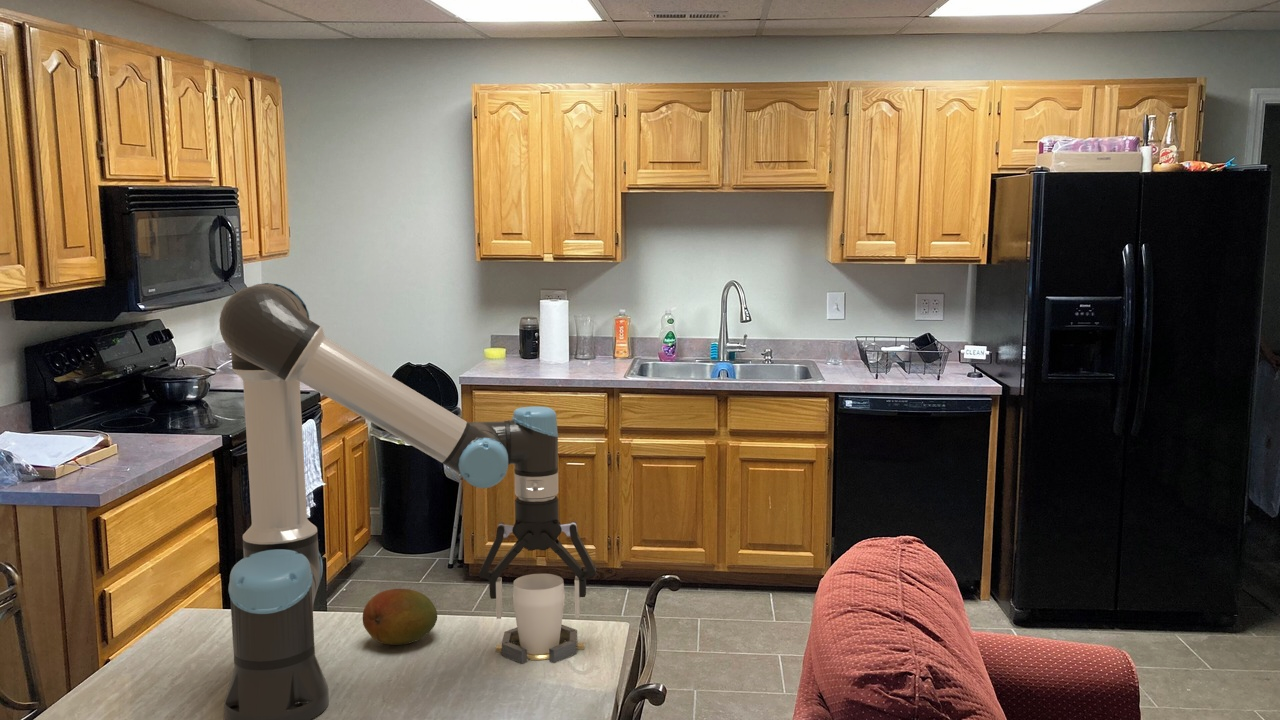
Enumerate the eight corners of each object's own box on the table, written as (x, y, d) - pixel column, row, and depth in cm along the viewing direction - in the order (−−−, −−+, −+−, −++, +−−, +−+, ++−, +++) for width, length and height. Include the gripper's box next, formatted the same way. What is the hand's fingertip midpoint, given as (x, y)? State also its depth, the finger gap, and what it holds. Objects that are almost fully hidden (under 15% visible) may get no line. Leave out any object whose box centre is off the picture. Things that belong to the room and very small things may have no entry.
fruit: (353, 647, 179) (350, 593, 178) (402, 624, 190) (400, 572, 189) (402, 660, 173) (400, 603, 172) (450, 635, 184) (448, 582, 183)
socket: (492, 664, 171) (492, 652, 171) (499, 635, 184) (499, 624, 183) (583, 662, 171) (583, 649, 171) (584, 633, 184) (584, 622, 184)
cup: (506, 656, 174) (505, 588, 173) (523, 636, 183) (521, 571, 181) (557, 659, 172) (556, 591, 171) (571, 639, 181) (570, 574, 180)
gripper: (461, 502, 170) (463, 624, 173) (609, 500, 171) (609, 621, 174) (466, 492, 178) (469, 608, 180) (608, 490, 179) (609, 606, 181)
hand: (538, 615), depth 177 cm, fingers open, 13 cm apart
